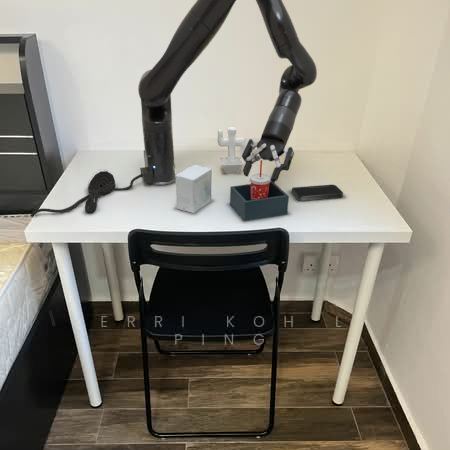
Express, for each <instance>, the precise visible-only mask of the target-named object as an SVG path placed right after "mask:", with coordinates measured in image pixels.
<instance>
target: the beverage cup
mask: <svg viewBox="0 0 450 450" xmlns="http://www.w3.org/2000/svg"><path fill="white" fill-rule="evenodd" d="M259 161H260V165H259V173H254V174H251V175H249V182H250V184H251V200H256V199H263V198H268V191H269V184H270V182H271V180H270V179H271V176H270V175H268V174H265V173H262V170H263V159H260V160H259Z"/></svg>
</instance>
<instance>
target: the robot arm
mask: <svg viewBox="0 0 450 450" xmlns="http://www.w3.org/2000/svg"><path fill="white" fill-rule="evenodd" d="M236 1H237V0H196V1H195V3H194V4H193V5H192V6H191V8H190V9H189V10H188V12H187V13H186V14H185V16H184V17H183V19H182V20H181V22H180V23H179V25H178V27H177V28H176V30H175V32H174V34H173V36H172V38H171V39H170V41H169V44H168V46H167V48H166V50H165V51H164V53H163V55H162V56H161V57H160V59H159V60H158V61H157V62H156V63H155V65H154V66H153V67H152V68H151V69H148V70H147V71H145V72H144V73H143V74H142V75H141V77H140V79H139V82H138V87H137V90H138V91H137V93H138V96H139V99H140V105H141V125H142V136H143V144H144V145H143V147H144V150H143V160H144V167H143V166H142V167H139V171H140V174H138V175H136V176H134V177H133V178H132V179H131V180H130V182H129V185H128V186H126V187H121V188H120V187H115V188H113V191H115V192H116V191H120V192H121V191H128V190H130V189H131V188H133V185H134V182H135V181H136V180H138V179H140V178H141V179H142V181H143V182H144V183H147V182H148V184H149V185H155V186H166V185H170V184H172V183H175V182H176V171H175V170H176V164H175V153H174V136H173V134H174V133H173V114H172V113H173V111H172V93H173V91H174V89H175V88H176V86H177V84H178V83H179V81H180V80H181V78H182V77H183V75H184V74H185V73H186V71H187V70H188V69H189V68H190V67H191V66H192V65H193V64H194V62H196V60H197V59H198V58H199V57H200V56H201V54H202V53H203V52H204V51H205V50H206V49H207V47H208V46H209V45H210V43H211V42H212V41H213V39H214V38H215V37H216V35H217V34H218V33H219V31H221V28H222V26H223V25H224V23H225V21H226V20H227V18H228V17H229V15H230V13H231V11H232V8H233V7H234V5H235V3H236ZM255 1H256V4H257V7H258V9H259V12H260V15H261V17H262V20H263V23H264V25H265V28H266V31H267V34H268V36H269V39H270V42H271V43H272V47H273V48H274V51H275V53H276V56H277V57H278V58H279V59H282V60H283V59H284V60H285V59H286V60H288V61H289V62H290V64H291V65H288V66H287V67H286V68H285V70H284V71H283V72H282V74H281V77H280V80H279V81H280V82H279V88H278V96H277V98H276V100H275V103H274V105H273V108H272V110H271V112H270V114H269V116H268V118H267V121H266V122H265V123H266V124H265V126H264V128H263V130H262V133H261V137H260V140H259V141H257V142H256V141H254V140H253V139H249V140H248V141H247V144H246V145H245V150H244V152H243V154H241V159H243V161H244V162H245V163H244V165H243V166H244V167H243V168H242V172H243V175H244V176H245V177H249V176H250V172H251V170H252V167H253V165H254V163H256V162H259V161H261V160H262V161H269V162H274V164H275V167H274V168H273V170H272V174H271V176H270V177H271V179H270V180H271V182H273V183H275V182H277V181H279V178H280V175H281V172H282V171H289V170H290V167H291V165H292V161H293V158H294V155H295V151H294V149H293V147H292V146H289V147H286V146H287V144H288V141H289V139H290V136H291V133H292V131H293V129H294V126H295V122H296V119H297V116H298V113H299V110H300V108H301V105H302V101H303V99H302V96H301V94H300V93H299V92H300V90H302V89H304V88H307V87H309V86H312V85H313V84H314V83H315V82H316V80H317V76H318V69H317V65H316V62H315V61H314V59H313V58H312V56H311V55H310V54H309V52H308V51H307V49H306V48H305V46H304V45H303V44H302V43H301V40H300V38H299V36H298V32H297V30H296V28H295V25H294V23H293V21H292V18H291V16H290V14H289V12H288V10H287V8H286V5H285V4H284V2H283V0H255ZM282 155H284V156H285V157H284V160H283V162H281V159H280V157H281V156H282ZM275 184H276V183H275ZM101 188H102V187H101ZM102 189H106V188H102ZM102 189H98V190H102ZM109 189H110V188H109ZM98 190H95V191H98ZM113 191H112V192H113ZM90 195H91V193H88V194H86V195H85V196H83V197H81V198H80V199H78V200H77V201H76V202H75V203H73V204H72V205H70V206H68V207H65V208H62V209H53V208H38V209H35V210H34V211H33V212H31V214H30V215H29V216H30V217H35V215H37V214H38V213H43V212H47V213H58V214H60V213H65V212H68V211H69V212H70V211H71V210H73V209H75V208H76V207H78V206H79V205H80V204H81V203H83V202H84V201H87V199H88V198H89V197H90ZM48 313H49V315H50V316H49V317H50V320H51V321H50V322H51V324H52V327H55V326H56V323H55V317H54V315H53V311H52V310H48Z"/></svg>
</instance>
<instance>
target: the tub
mask: <svg viewBox="0 0 450 450" xmlns="http://www.w3.org/2000/svg"><path fill="white" fill-rule="evenodd" d="M229 188H230V189H229V190H230V191H229V205H230V206H231V207H232V209H233V210H234V211H235V212H236V213H237V215H238V216H239V217H240V218H241V220H242V221H244V222H247V221H254V220H260V219H267V218H272V217H280V216H285V215H288V209H289V200H290V199H289V198H290V195H289V194H288V193H287V192H286V191H284V190H283V189H282V188H281V187H279V186H278V185H277V183H273V182H270V184H269V191H268V198H263V199H256V200H251V183H247V184H240V185H239V184H238V185H232V186H230V187H229Z"/></svg>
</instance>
